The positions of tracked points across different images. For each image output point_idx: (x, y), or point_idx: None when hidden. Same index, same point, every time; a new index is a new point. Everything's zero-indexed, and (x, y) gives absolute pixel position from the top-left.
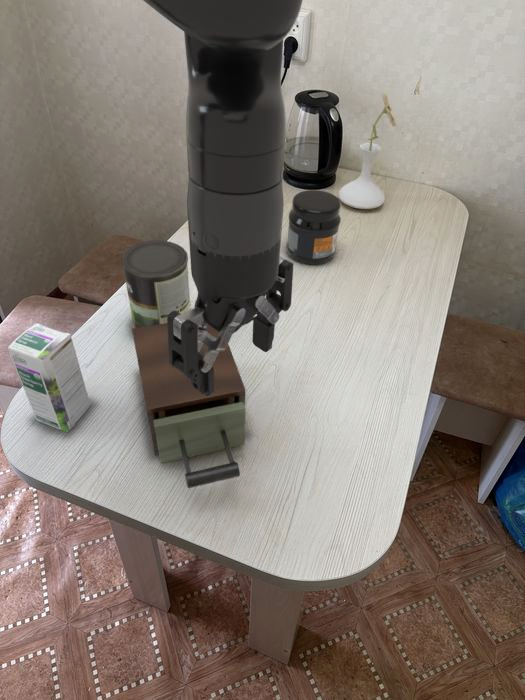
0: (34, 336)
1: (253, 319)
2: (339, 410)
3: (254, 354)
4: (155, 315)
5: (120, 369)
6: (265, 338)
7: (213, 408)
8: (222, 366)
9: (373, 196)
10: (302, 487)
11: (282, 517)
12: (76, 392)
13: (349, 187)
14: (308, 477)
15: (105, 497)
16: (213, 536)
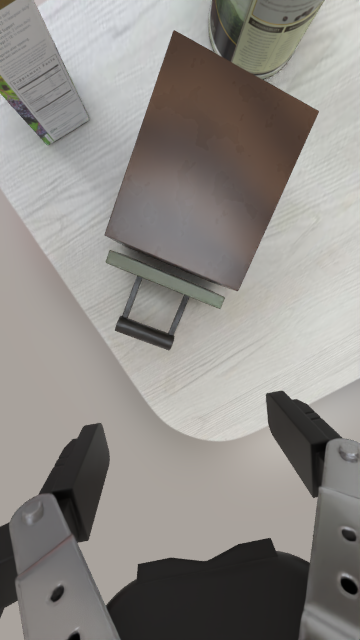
0: None
1: (306, 438)
2: (317, 320)
3: (312, 183)
4: (242, 9)
5: (153, 79)
6: (287, 451)
7: (186, 283)
8: (242, 231)
9: None
10: (220, 365)
11: (185, 376)
12: (57, 100)
13: None
14: (232, 360)
15: (56, 259)
16: (125, 355)
